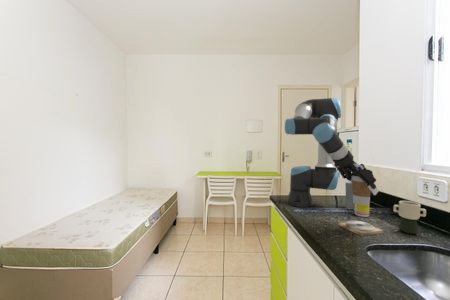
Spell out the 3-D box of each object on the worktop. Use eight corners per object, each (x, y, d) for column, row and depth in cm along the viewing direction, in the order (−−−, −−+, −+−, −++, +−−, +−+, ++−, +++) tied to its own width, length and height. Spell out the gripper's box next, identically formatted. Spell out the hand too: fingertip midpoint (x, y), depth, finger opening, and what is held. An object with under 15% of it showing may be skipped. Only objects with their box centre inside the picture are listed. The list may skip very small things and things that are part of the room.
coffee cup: (370, 202, 99) (371, 169, 98) (374, 207, 91) (375, 171, 91) (349, 199, 102) (350, 168, 102) (350, 204, 95) (352, 170, 94)
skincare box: (365, 210, 124) (366, 182, 124) (359, 212, 120) (360, 184, 120) (350, 206, 131) (351, 180, 131) (344, 208, 127) (345, 181, 127)
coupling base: (338, 225, 102) (338, 221, 102) (358, 222, 105) (358, 218, 105) (361, 236, 90) (361, 231, 90) (382, 233, 94) (383, 228, 93)
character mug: (423, 232, 95) (425, 203, 94) (426, 238, 89) (428, 207, 88) (391, 226, 101) (393, 198, 100) (392, 231, 95) (394, 202, 95)
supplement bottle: (371, 218, 112) (372, 193, 111) (357, 216, 113) (358, 192, 113) (365, 213, 118) (366, 190, 118) (352, 212, 120) (353, 189, 119)
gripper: (317, 158, 101) (344, 191, 107) (355, 163, 82) (385, 203, 87) (327, 147, 103) (353, 180, 108) (367, 149, 83) (395, 189, 88)
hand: (367, 190), depth 98 cm, fingers closed on coffee cup, 8 cm apart
